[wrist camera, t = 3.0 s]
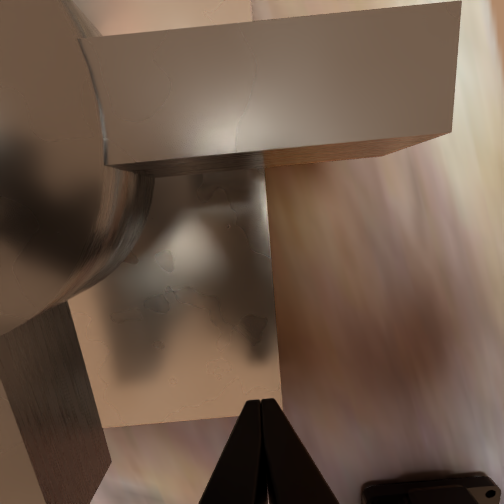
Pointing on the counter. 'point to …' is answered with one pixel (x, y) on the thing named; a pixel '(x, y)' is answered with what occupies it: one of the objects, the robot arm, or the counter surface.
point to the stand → (184, 276)
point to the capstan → (165, 170)
